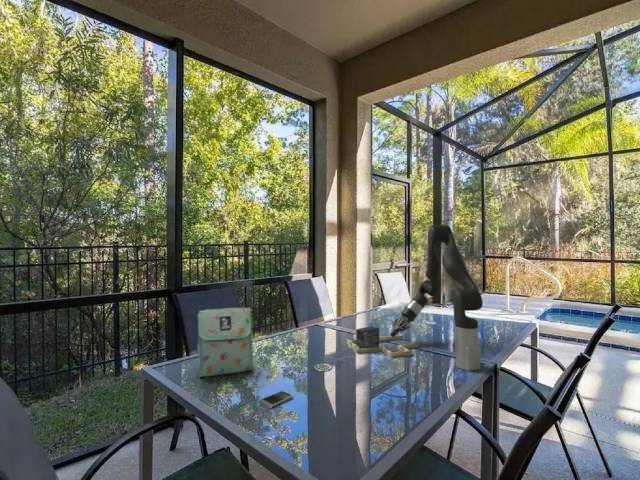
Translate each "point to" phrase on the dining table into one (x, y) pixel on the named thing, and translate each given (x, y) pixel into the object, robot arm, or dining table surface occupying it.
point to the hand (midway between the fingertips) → (391, 335)
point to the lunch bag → (224, 341)
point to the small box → (367, 337)
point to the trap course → (397, 352)
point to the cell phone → (275, 399)
